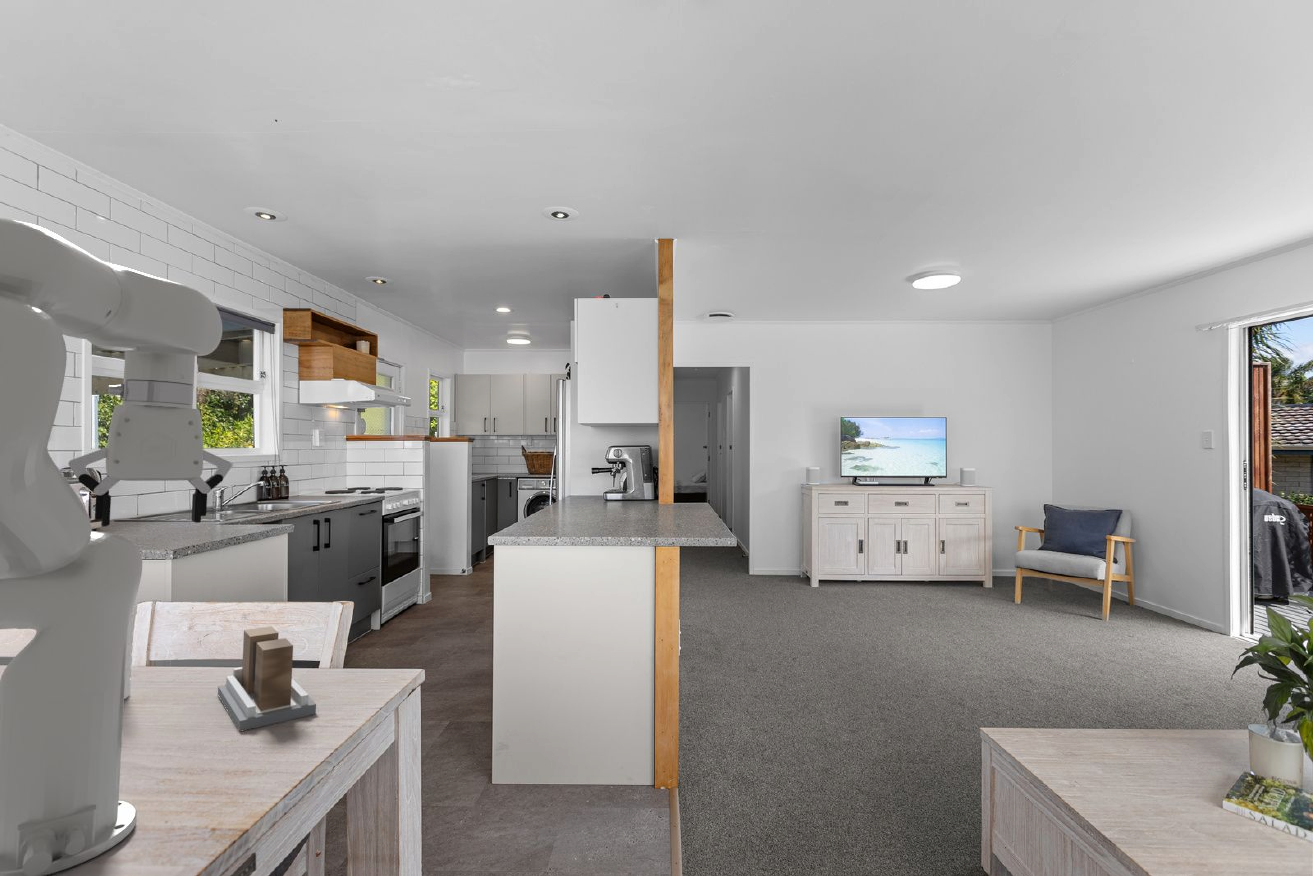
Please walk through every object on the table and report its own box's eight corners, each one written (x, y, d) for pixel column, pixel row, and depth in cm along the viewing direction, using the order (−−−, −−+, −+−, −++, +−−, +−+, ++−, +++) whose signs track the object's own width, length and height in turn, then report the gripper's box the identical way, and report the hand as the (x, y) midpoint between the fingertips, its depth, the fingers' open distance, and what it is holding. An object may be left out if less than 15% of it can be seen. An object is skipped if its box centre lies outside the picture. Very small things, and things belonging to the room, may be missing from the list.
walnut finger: (260, 711, 95) (263, 650, 95) (252, 699, 99) (255, 641, 99) (290, 704, 97) (293, 645, 98) (282, 693, 102) (284, 637, 102)
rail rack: (315, 714, 98) (318, 645, 98) (239, 731, 91) (242, 657, 92) (286, 682, 111) (288, 621, 112) (217, 695, 104) (220, 631, 105)
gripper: (72, 389, 78) (64, 530, 77) (239, 400, 89) (233, 522, 89) (72, 393, 83) (64, 524, 82) (229, 403, 95) (223, 518, 94)
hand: (152, 523), depth 86 cm, fingers open, 9 cm apart
